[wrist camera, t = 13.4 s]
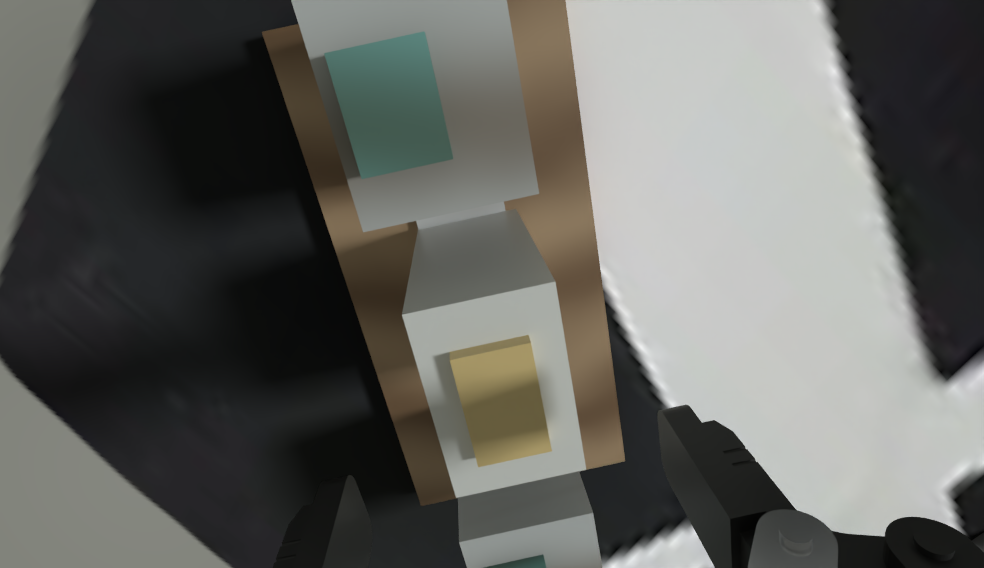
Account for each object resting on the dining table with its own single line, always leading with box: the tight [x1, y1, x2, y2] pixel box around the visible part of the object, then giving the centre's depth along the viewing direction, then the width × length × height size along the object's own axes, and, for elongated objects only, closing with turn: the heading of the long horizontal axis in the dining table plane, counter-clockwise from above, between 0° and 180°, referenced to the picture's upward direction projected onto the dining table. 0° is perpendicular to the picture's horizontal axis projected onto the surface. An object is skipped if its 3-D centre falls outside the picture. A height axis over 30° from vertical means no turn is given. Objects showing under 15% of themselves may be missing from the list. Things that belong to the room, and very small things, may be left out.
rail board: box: [262, 0, 625, 568], centre depth 21 cm, size 25×12×11 cm, turn 11°
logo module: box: [402, 209, 586, 498], centre depth 20 cm, size 4×7×10 cm, turn 11°
